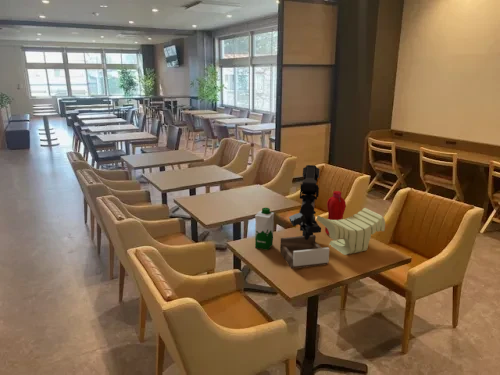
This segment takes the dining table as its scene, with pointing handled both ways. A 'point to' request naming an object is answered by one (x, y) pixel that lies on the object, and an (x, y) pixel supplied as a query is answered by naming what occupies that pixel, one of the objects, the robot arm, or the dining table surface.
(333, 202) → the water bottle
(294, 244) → the brown open box
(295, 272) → the dining table surface
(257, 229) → the milk carton
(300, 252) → the panel
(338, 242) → the slatted curved stool
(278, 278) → the dining table surface
